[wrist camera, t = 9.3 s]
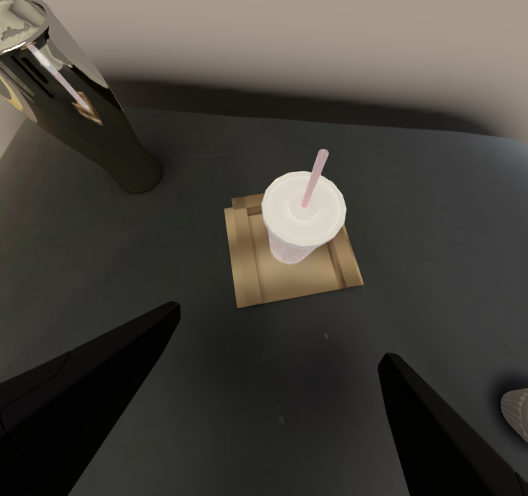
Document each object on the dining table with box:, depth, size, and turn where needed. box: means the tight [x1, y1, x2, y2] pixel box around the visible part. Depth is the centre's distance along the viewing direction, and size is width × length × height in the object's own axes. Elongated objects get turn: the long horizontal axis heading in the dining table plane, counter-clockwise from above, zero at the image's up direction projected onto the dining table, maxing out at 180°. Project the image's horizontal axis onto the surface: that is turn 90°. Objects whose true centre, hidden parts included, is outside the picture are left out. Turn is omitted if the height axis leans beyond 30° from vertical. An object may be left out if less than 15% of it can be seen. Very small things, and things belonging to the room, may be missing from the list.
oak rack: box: [224, 193, 364, 308], centre depth 22 cm, size 12×14×3 cm
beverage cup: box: [262, 149, 346, 264], centre depth 16 cm, size 6×6×14 cm
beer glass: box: [0, 0, 162, 193], centre depth 20 cm, size 7×7×15 cm
